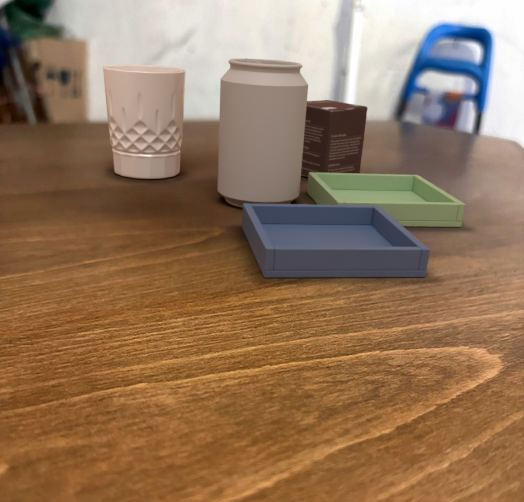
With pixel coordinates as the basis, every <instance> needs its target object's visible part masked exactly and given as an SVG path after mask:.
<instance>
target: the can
mask: <svg viewBox="0 0 524 502" xmlns="http://www.w3.org/2000/svg"><path fill="white" fill-rule="evenodd" d="M227 63H228V64H229V69H227V70H226V72H225V73H224V74H223V75H222V76H221V77H220V81H219V82H220V85H219V87H220V88H219V119H218V120H219V121H218V123H219V124H218V125H219V126H218V157H217V161H218V162H217V163H218V164H217V192H218V193H219V194H220V195H221V196H222V197H223V198H224V199H225V201H226V202H227V203H228V204H229V205H232V206H234V207H238V208H241V209H243V203H250V204H291V203H292V202H293V201H294V200H296V199H297V198H298V197H299V196H300V191H301V190H300V189H301V179H302V176H301V167H302V155H303V143H304V131H305V118H306V106H307V101H308V93H309V84H308V82H307V81H306V79H305V77H304V76H303V75H302V73H301V69H302V68H303V64H302V63H299V62H294V61H287V60H278V59H264V58H263V59H261V58H229V60H228V62H227Z"/></svg>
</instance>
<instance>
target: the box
mask: <svg viewBox="0 0 524 502" xmlns="http://www.w3.org/2000/svg"><path fill="white" fill-rule="evenodd" d="M368 108H369V107H368V106H365V105H361V104H360V105H359V104H353V103H349V102H342V101H336V100H330V99H321V100H307V106H306V118H305V131H304V143H303V155H302V167H301V177H305V178H308V175H309V172H314V173H315V172H316V173H358V174H361V166H362V159H363V158H362V157H363V149H364V141H365V134H366V133H365V132H366V122H367V114H368Z"/></svg>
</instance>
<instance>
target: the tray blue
mask: <svg viewBox="0 0 524 502" xmlns="http://www.w3.org/2000/svg"><path fill="white" fill-rule="evenodd" d="M241 214H242V215H241V229H242V231H243V233H244V235H245V238H246V240H247V242H248V244H249V247H250V249H251V252H252V254H253V256H254V258H255V260H256V262H257V265H258V267H259V269H260V271H261V274H262V276H263V278H266V279H267V278H270V279H271V278H285V279H287V278H289V279H290V278H293V279H294V278H301V279H302V278H426V275H427V269H428V264H429V258H430V253H431V249H430V248H429V247H428V246H427V245H426V244H424V243H423V242H422V241H421V240H420V239H418V238H417V237H416V236H415V235H414V234H413V233H411V232H410V231H409V230H408V229H406V228H405V226H402V225H401V224H399V223H398V222H397V221H396V220H395V219H394V218H392V217H391V216H390V215H389V214H388V213H387V212H385V211H384V210H383V209H382V208H381V207H379V206H376V205H373V206H371V205H317V204H308V203H307V204H306V203H305V204H304V203H293V204H292V203H290V204H250V203H243V208H242V213H241Z"/></svg>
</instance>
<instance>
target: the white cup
mask: <svg viewBox="0 0 524 502" xmlns="http://www.w3.org/2000/svg"><path fill="white" fill-rule="evenodd" d="M102 71H103V82H104V94H105V101H106V102H105V104H106V114H107V116H106V117H107V125H108V132H109V143H110V146H111V147H112V148H111V151H112V164H113V171H114V174H116V175H119V176H121V177H126V178H130V179H141V180H159V179H167V178H168V179H169V178H172V177H175V176H177V175H178V174H180V171H181V150H180V149H181V148H182V144H183V129H184V118H185V117H184V115H185V93H186V92H185V90H186V70H185V69H183V68H180V67H179V68H178V67H170V66H163V65H150V64H149V65H148V64H147V65H146V64H107V65H103V67H102Z"/></svg>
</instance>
